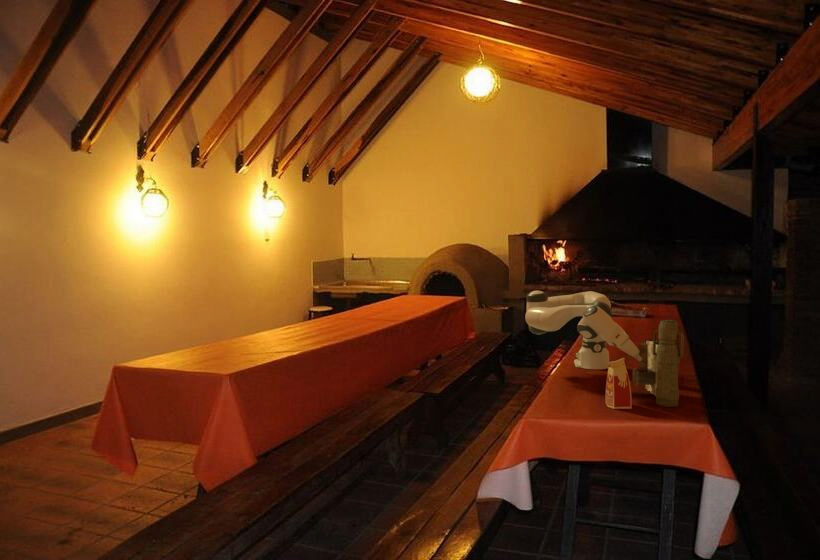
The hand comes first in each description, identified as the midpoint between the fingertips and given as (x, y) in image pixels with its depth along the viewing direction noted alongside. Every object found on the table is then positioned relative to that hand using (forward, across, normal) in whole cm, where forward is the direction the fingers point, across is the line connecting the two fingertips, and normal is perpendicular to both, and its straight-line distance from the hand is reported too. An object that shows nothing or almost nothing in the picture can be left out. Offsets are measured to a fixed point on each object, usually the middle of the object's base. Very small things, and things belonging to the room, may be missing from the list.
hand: (636, 357), depth 279 cm
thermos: (+17, +16, -6) cm, 24 cm away
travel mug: (+22, -18, -1) cm, 29 cm away
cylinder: (+10, 0, -5) cm, 11 cm away
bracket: (+14, 0, -9) cm, 17 cm away
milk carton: (+2, +16, -21) cm, 27 cm away
